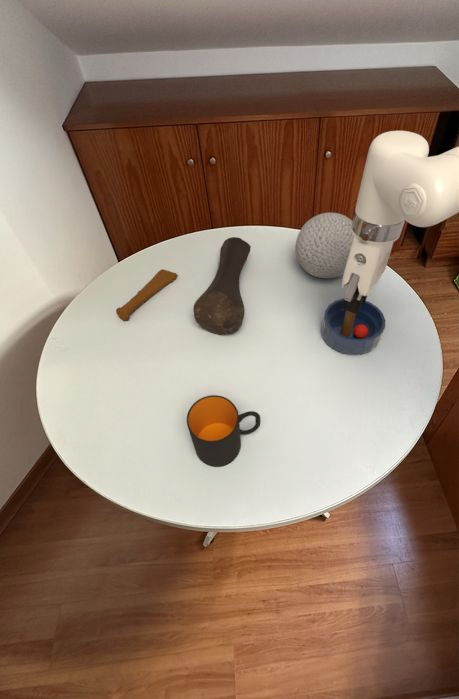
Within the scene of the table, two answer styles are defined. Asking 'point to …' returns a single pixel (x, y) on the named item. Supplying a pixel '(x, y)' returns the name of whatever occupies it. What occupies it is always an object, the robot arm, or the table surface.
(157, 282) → the primitive tool
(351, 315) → the stick
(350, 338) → the bowl
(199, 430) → the mug
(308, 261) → the decorative ball
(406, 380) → the table surface
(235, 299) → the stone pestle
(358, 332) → the ball
